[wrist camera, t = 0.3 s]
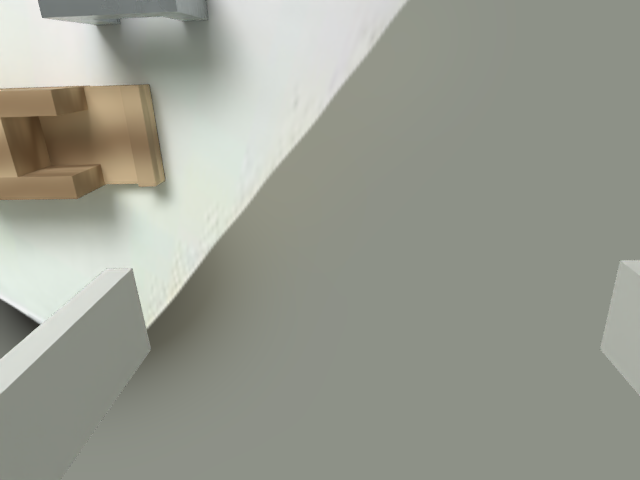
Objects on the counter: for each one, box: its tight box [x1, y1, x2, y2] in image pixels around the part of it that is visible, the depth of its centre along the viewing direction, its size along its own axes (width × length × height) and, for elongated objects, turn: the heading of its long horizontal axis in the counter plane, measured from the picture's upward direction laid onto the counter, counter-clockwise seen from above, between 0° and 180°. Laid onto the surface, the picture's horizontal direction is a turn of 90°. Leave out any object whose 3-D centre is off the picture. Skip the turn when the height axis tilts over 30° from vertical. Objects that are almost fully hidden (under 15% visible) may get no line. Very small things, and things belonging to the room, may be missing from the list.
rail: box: [0, 84, 165, 200], centre depth 36 cm, size 8×22×5 cm, turn 92°
